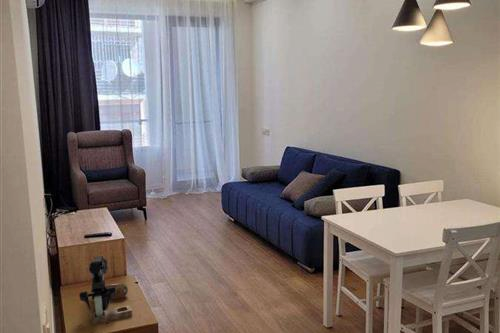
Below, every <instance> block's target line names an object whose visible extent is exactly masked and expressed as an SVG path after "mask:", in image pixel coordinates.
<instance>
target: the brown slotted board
mask: <svg viewBox="0 0 500 333" xmlns="http://www.w3.org/2000/svg"><path fill="white" fill-rule="evenodd" d="M132 316H133V310H132V307H131V304H127V305H124V306H119V307H116V308H110V309H105V310H103V316H100V317H96V312H93V313H90V322H91V323H90V325H97V324H101V323H105V322H110V320H111V321H115V320H120V319H124V318H128V317H132ZM114 319H115V320H114Z"/></svg>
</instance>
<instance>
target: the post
mask: <svg viewBox="0 0 500 333" xmlns="http://www.w3.org/2000/svg"><path fill="white" fill-rule="evenodd" d="M93 300H94V311H95V313H96V317H100V316H103V311H104V309H103V308H102V299H101V296H95V297H94V299H93Z"/></svg>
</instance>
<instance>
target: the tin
mask: <svg viewBox="0 0 500 333" xmlns="http://www.w3.org/2000/svg"><path fill="white" fill-rule="evenodd" d="M105 285H106V287H107V289H108V288H110V287H115V288H116V295H114V297H112V299H111V300H113V299H114V300H115V299H123V298H125V297H126V296H127V295H128V291H129V289H128V286H127V285H126V284H125V283H122V282H121V283H114V284H113V283H112V284H105ZM107 298H108V297H106V300H107Z"/></svg>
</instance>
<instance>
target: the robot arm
mask: <svg viewBox="0 0 500 333" xmlns="http://www.w3.org/2000/svg"><path fill="white" fill-rule="evenodd" d="M88 265H89V266H88V270H89V273H90V277H91V288H90V290H91V292H88V290H87V291H86V290H85V291H80V292H79V294H78V295H79V299H80V301H81V302H85V304H86V305H87V308H88V310H89V311H91V305H90V300H89V298H90V297H91V299H92V301H93V300H94V297H95V296H101V299H102V308H103V310H107V308H109V306H110V302H111V301H112V300H113V299H112V297H114V295H116V288H115V287H110V288H108V289H107V287H106V285H107V284H106V280H105V275H106V274H107V272H108V269H109V265H108V260H107V259H105V258H104V256H103V255H99V256H95V257H94V260H92V261H90V263H89V264H88ZM106 297H108V298H107V299H106Z"/></svg>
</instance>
